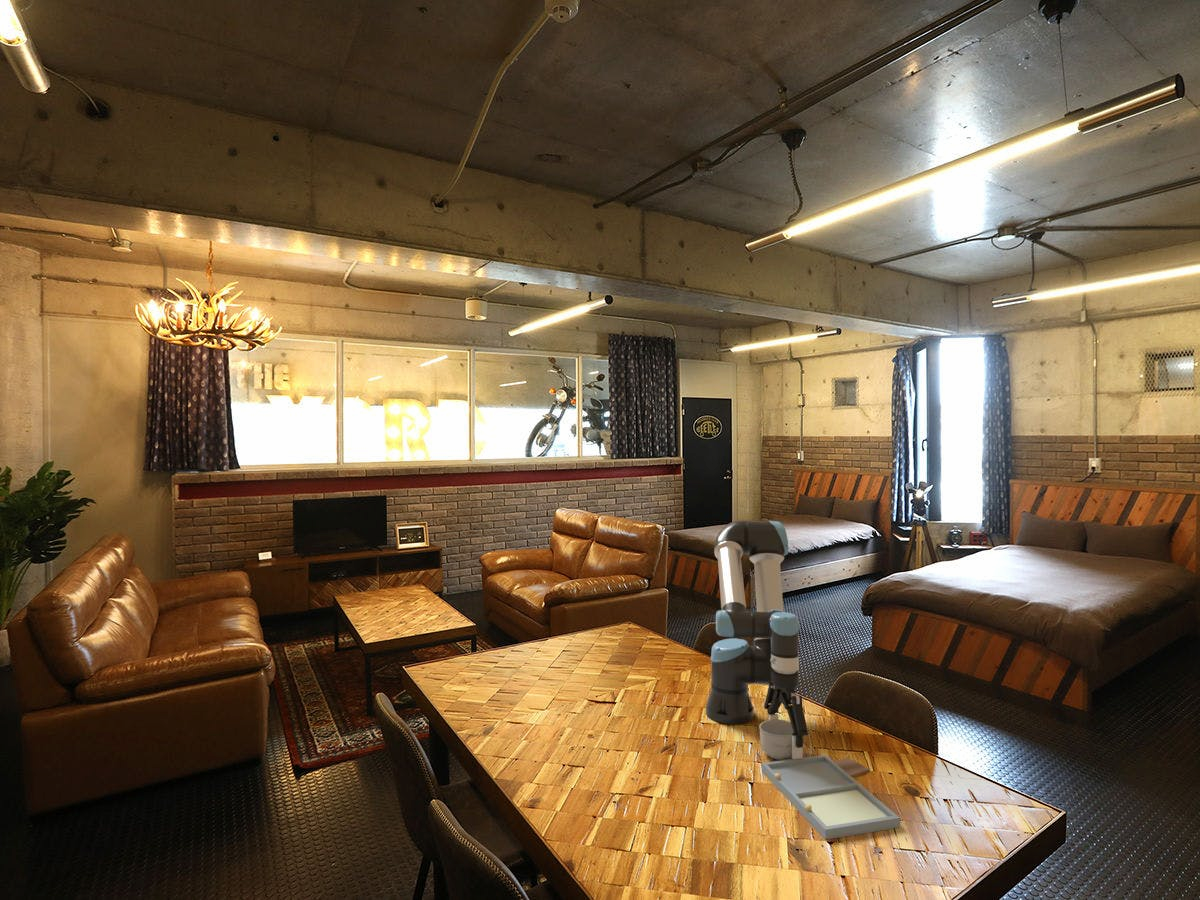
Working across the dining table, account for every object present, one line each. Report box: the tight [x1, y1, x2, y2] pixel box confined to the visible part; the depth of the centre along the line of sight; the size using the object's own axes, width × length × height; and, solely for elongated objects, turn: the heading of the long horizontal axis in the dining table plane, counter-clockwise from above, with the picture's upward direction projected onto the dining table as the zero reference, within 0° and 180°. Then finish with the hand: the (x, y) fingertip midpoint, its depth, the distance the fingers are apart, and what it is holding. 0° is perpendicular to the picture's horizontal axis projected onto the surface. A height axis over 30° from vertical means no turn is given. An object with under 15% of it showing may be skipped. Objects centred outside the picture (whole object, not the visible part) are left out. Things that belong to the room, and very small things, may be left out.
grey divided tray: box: [761, 754, 901, 840], centre depth 151 cm, size 29×19×3 cm, turn 13°
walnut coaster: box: [833, 756, 870, 778], centre depth 165 cm, size 7×7×1 cm
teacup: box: [758, 719, 794, 761], centre depth 172 cm, size 14×11×8 cm
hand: (785, 747), depth 172 cm, fingers open, 12 cm apart
